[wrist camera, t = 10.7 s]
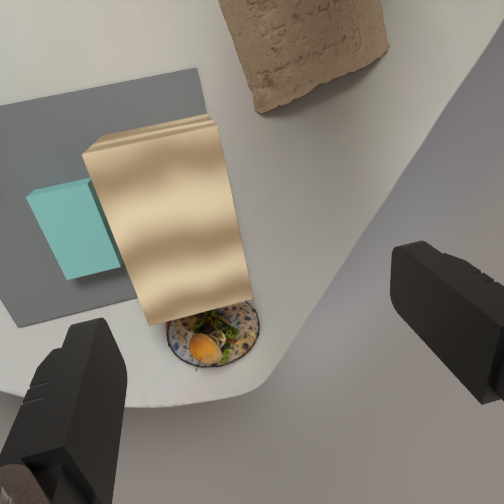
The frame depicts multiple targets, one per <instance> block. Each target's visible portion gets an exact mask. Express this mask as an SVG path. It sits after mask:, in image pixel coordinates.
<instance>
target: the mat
mask: <svg viewBox="0 0 504 504" xmlns="http://www.w3.org/2000/svg"><path fill="white" fill-rule="evenodd" d="M203 114H207V112H206V108H205V103H204V99H203V94H202V89H201V85H200V80H199V76H198V71H197V68H193V69H187V70H182V71H177V72H172V73H167V74H162V75H157V76H152V77H146V78H141V79H136V80H131V81H126V82H121V83H116V84H111V85H105V86H100V87H95V88H90V89H85V90H80V91H75V92H70V93H64V94H59V95H54V96H49V97H44V98H39V99H34V100H29V101H23V102H18V103H13V104H8V105H3V106H0V299H1V301H2V303H3V304H4V306H5V307H6V309H7V311H8V312H9V314H10V315H11V317H12V319H13V320H14V322H15V323H16V325H17V327H22V326H26V325H30V324H34V323H38V322H41V321H45V320H49V319H53V318H57V317H61V316H65V315H69V314H73V313H77V312H81V311H85V310H89V309H93V308H96V307H100V306H104V305H108V304H112V303H116V302H120V301H124V300H128V299H132V298H136V297H138V296H137V294H136V291H135V289H134V286H133V284H132V281H131V279H130V276H129V274H128V271H127V269H126V266H125V264H124V261H123V260H122V264H121V267H118V268H114V269H110V270H106V271H102V272H98V273H94V274H90V275H86V276H82V277H78V278H73V279H69V280H67V279H66V277H65V275H64V273H63V271H62V269H61V267H60V265H59V263H58V261H57V259H56V257H55V255H54V253H53V251H52V249H51V247H50V245H49V243H48V241H47V239H46V237H45V235H44V233H43V231H42V229H41V227H40V225H39V223H38V221H37V219H36V217H35V215H34V213H33V211H32V209H31V207H30V205H29V203H28V201H27V199H26V197H27V196H28V195H29V194H30V193H31V192H33V191H34V190H36V189H40V188H45V187H49V186H54V185H59V184H63V183H68V182H72V181H77V180H81V179H86V178H91V177H90V175H89V172H88V170H87V167H86V165H85V162H84V160H83V157H82V154H83V153H84V152H85V151H86V150H87V149H88V148H89V147H91V146H92V145H93V144H94V143H95V142H96V141H97V140H98V139H99V138H100V137H101V136H102V135H107V134H112V133H116V132H121V131H126V130H131V129H136V128H140V127H145V126H150V125H155V124H160V123H164V122H169V121H174V120H179V119H184V118H188V117H193V116H198V115H203Z"/></svg>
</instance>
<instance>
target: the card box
mask: <svg viewBox="0 0 504 504" xmlns="http://www.w3.org/2000/svg"><path fill="white" fill-rule="evenodd" d="M26 199H27V201H28V203H29V205H30V207H31V209H32V211H33V213H34V215H35V217H36V219H37V221H38V223H39V225H40V227H41V229H42V231H43V233H44V235H45V237H46V239H47V241H48V243H49V245H50V247H51V249H52V251H53V253H54V255H55V257H56V259H57V261H58V263H59V265H60V267H61V269H62V271H63V273H64V275H65V277H66V279H67V280H69V279H73V278H78V277H82V276H86V275H90V274H94V273H98V272H102V271H106V270H110V269H114V268H118V267H121V264H122V260H123V258H122V256H121V253H120V251H119V248H118V246H117V243H116V241H115V238H114V236H113V233H112V231H111V228H110V226H109V223H108V220H107V218H106V215H105V213H104V210H103V208H102V205H101V203H100V200H99V198H98V195H97V193H96V190H95V188H94V185H93V183H92V180H91V178H86V179H81V180H77V181H72V182H68V183H63V184H59V185H54V186H49V187H45V188H40V189H36V190H34V191H33V192H31V193H30V194H29V195H28V196H27V197H26Z"/></svg>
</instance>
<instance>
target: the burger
mask: <svg viewBox="0 0 504 504" xmlns="http://www.w3.org/2000/svg"><path fill="white" fill-rule="evenodd" d="M259 330H260V324H259V319H258V315H257V312H256V310H255V309H254V308H253V307H251V306H250V305H249V304H248V303H247V302H246V301H243V302H239V303H235V304H232V305H228V306H224V307H220V308H216V309H213V310H209V311H205V312H201V313H197V314H194V315H190V316H186V317H182V318H178V319H175V320H171V321H167V322H166V334H167V341H168V346H169V347H170V348H171V350H172V352H173V353H174V354H175V355H176V356H177V357H178V358H179V359H181V360H182V361H184V362H186V363H188V364H190V365H193V366H197V367H203V368H204V367H205V368H206V367H220V366H224V365H226V364H229V363H232V362H235V361H236V360H238V359H240V358H241V357H243V356H244V355H245V354H246V353H248V351H249V350H251V348H252V347H253V346H254V344H255V342H256V339H257V338H258V335H259ZM196 370H197V368H196ZM195 372H196V371H195Z"/></svg>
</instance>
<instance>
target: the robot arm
mask: <svg viewBox="0 0 504 504" xmlns="http://www.w3.org/2000/svg"><path fill="white" fill-rule="evenodd" d="M391 261H392V262H391V280H390V297H391V301H392V304H393V306H394V308H395V310H396V311H397V313H398V314H399V315H400V316H401V317H402V318H403V319H404V321H406V323H407V324H408V325H409V326H410V327H411V328H412V329H413V330H414V331H415V332H416V334H418V336H419V337H420V338H421V339H422V340H423V341H424V342H425V343H426V344H427V346H428V347H429V348H430V349H431V350H432V351H433V352H434V353H435V354H436V355H437V357H438V358H439V359H440V360H441V361H442V362H443V363H444V364H445V365H446V366H447V367H448V368H449V370H450V371H451V372H452V373H453V374H454V375H455V376H456V377H457V378H458V379H459V380H460V382H461V383H462V384H463V385H464V386H465V387H466V388H467V389H468V390H469V391H470V393H471V394H472V395H473V396H474V397H475V398H476V399H477V400H478V401H479V402H480V403H481V404H482V405H483V404H486V403H490V402H493V401H496V400H500V399H502V400H503V401H504V286H503V285H501V284H500V283H498V282H494V279H492V278H490V277H489V276H488V275H486V274H485V273H481V271H480V270H479V269H477V268H476V267H474V266H473V265H471V264H470V263H468V262H467V261H465V260H462V259H460V258H457V257H454V256H451V255H448V254H446V253H443V254H442V253H441V252H439V251H438V250H437V249H435V248H434V247H432V246H431V245H429V244H428V243H426V242H425V241H418V242H414V243H410V244H405V245H401V246H397V247H395V248H394V249H393V252H392V260H391ZM126 389H127V370H126V365H125V362H124V359H123V357H122V355H121V352H120V350H119V348H118V346H117V344H116V341H115V339H114V337H113V335H112V332H111V330H110V328H109V326H108V324H107V322H106V320H105V319H104V318H97V319H93V320H89V321H85V322H81V323H77V324H73V325H71V326H70V327H69V329H68V332H67V335H66V337H65V340H64V343H63V345H62V348H58V349H54V350H52V351H51V352H50V354H49V355H48V356H47V357H46V358H45V359H44V361H43V362H42V363H41V364H40V365H39V366H38V367H37V370H36V372H35V374H34V377H33V379H32V381H31V384H30V389H28V391H27V393H26V395H25V398H24V400H23V405H22V406H21V407H20V409H19V412H18V414H17V416H16V419H15V421H14V423H13V426H12V428H11V430H10V433H9V435H8V437H7V440H6V442H5V444H4V447H3V449H2V451H1V454H0V504H112V498H113V490H114V483H115V475H116V467H117V459H118V452H119V443H120V436H121V427H122V420H123V413H124V405H125V397H126Z"/></svg>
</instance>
